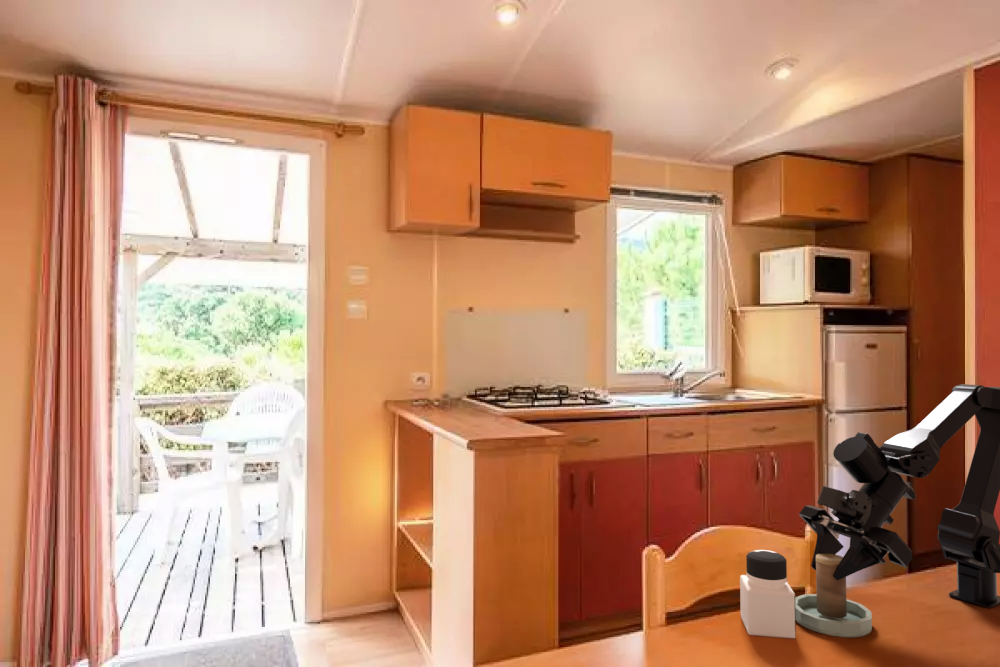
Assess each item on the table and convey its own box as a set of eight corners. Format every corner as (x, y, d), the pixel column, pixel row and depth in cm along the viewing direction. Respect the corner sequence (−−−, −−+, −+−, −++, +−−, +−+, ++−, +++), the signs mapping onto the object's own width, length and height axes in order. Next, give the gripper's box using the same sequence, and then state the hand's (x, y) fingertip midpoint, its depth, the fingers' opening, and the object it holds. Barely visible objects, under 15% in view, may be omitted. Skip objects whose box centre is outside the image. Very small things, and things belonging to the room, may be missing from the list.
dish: (819, 601, 113) (819, 589, 113) (886, 626, 103) (886, 612, 103) (777, 616, 107) (777, 603, 107) (844, 643, 97) (844, 629, 97)
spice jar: (830, 605, 108) (829, 552, 108) (853, 615, 103) (851, 560, 104) (810, 609, 106) (809, 555, 106) (832, 619, 102) (831, 563, 102)
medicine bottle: (796, 639, 98) (795, 562, 99) (748, 635, 100) (746, 559, 100) (785, 620, 105) (784, 547, 106) (740, 616, 107) (739, 545, 107)
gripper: (806, 460, 115) (756, 526, 112) (896, 481, 97) (840, 560, 94) (842, 500, 117) (794, 566, 114) (936, 527, 99) (883, 607, 96)
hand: (823, 573), depth 104 cm, fingers closed on spice jar, 4 cm apart
